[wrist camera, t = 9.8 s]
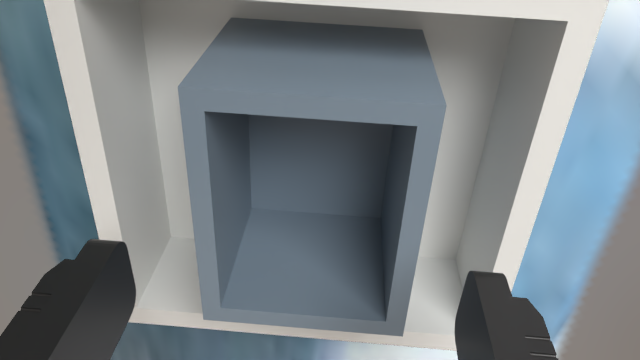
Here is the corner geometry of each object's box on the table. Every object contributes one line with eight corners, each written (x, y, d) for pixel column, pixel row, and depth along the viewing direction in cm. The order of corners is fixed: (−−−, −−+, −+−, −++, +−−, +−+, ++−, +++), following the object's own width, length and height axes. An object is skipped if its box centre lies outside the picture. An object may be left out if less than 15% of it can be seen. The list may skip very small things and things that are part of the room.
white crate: (114, -74, 17) (32, -48, 13) (549, -47, 17) (612, -11, 12) (161, 238, 24) (118, 321, 20) (467, 263, 24) (490, 353, 19)
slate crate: (230, 17, 18) (177, 86, 13) (422, 29, 17) (446, 104, 12) (240, 210, 22) (203, 319, 17) (393, 222, 22) (402, 336, 17)
